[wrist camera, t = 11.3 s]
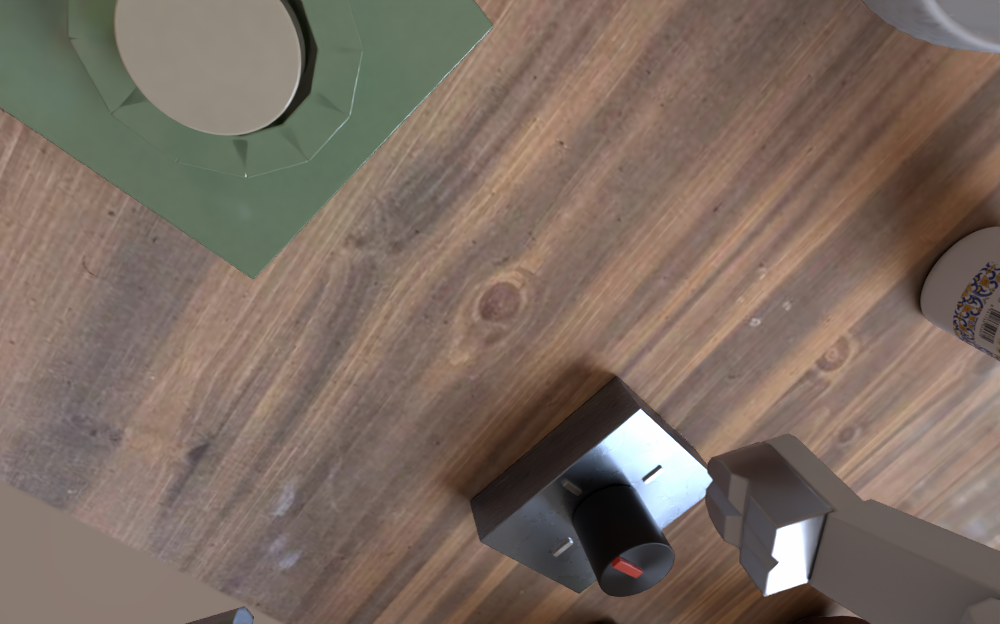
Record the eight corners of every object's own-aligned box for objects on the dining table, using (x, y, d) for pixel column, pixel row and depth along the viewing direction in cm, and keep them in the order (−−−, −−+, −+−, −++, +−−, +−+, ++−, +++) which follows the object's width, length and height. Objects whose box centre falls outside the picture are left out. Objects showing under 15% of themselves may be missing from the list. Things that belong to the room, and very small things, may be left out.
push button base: (266, 239, 23) (245, 307, 18) (0, 45, 18) (-134, 63, 13) (469, 21, 21) (511, 29, 16) (236, -269, 16) (187, -396, 11)
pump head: (244, 150, 16) (233, 168, 14) (106, 38, 14) (72, 43, 12) (336, 47, 15) (336, 54, 14) (204, -87, 13) (184, -99, 12)
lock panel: (563, 555, 39) (580, 596, 36) (469, 501, 34) (480, 544, 31) (696, 450, 37) (723, 485, 34) (616, 375, 32) (642, 409, 29)
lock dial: (654, 501, 33) (692, 562, 30) (602, 546, 34) (633, 610, 31) (611, 474, 31) (647, 537, 28) (557, 523, 32) (585, 589, 28)
